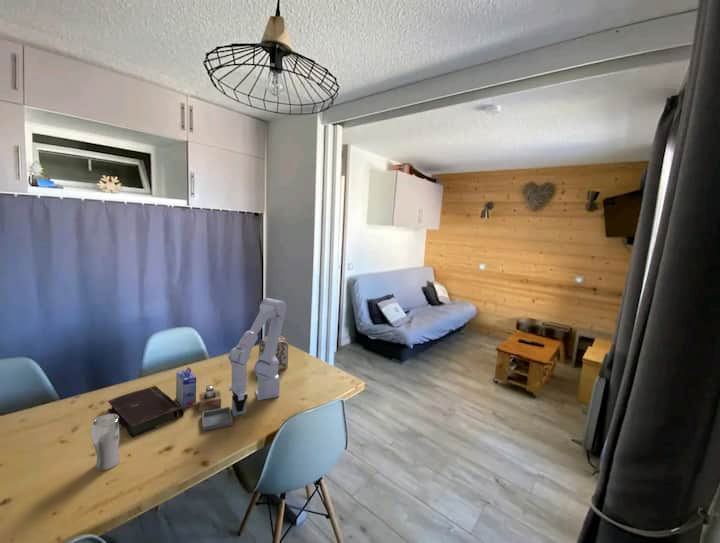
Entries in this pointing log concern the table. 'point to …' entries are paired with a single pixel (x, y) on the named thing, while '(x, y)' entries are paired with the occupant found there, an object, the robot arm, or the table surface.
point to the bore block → (209, 401)
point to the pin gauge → (209, 392)
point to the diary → (144, 410)
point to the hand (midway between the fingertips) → (238, 407)
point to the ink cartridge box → (186, 388)
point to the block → (235, 408)
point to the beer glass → (106, 441)
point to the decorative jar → (277, 351)
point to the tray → (216, 419)
